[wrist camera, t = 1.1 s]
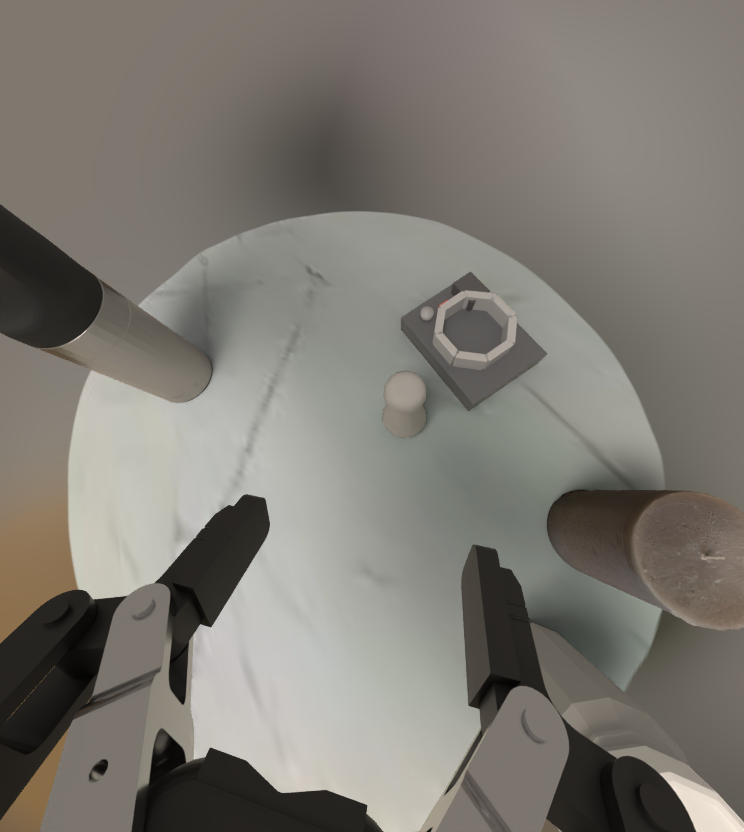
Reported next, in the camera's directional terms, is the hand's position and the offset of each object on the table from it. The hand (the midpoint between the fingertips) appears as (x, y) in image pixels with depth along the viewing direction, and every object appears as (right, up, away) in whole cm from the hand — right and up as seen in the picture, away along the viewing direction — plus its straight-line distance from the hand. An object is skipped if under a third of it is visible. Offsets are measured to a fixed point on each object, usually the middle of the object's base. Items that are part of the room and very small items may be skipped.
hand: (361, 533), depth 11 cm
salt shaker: (+5, +4, +29) cm, 30 cm away
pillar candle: (+27, -10, +24) cm, 37 cm away
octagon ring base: (+14, +15, +31) cm, 37 cm away
